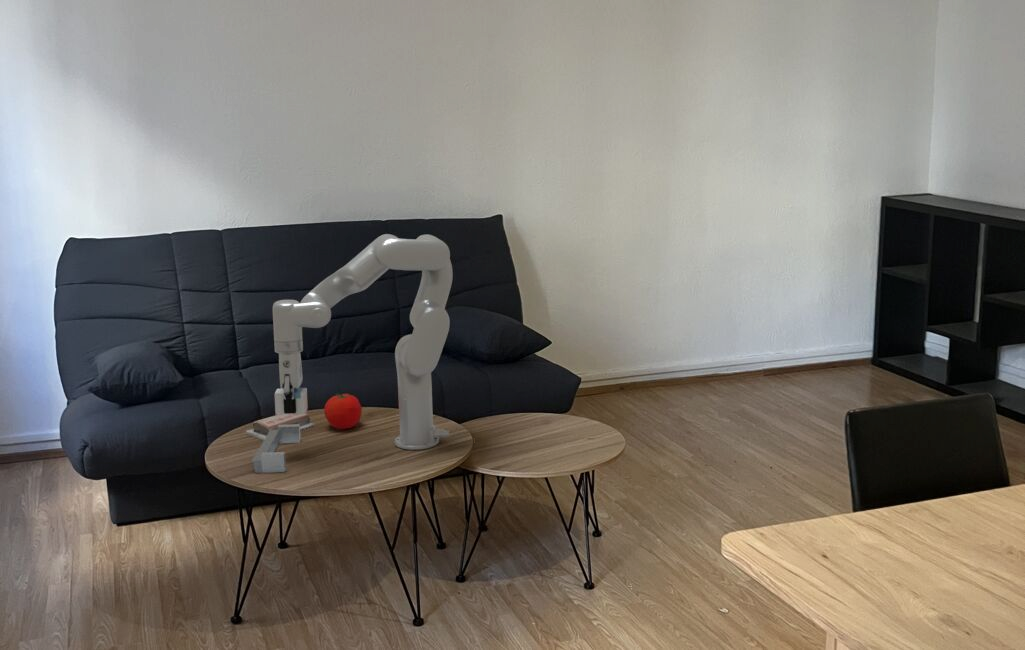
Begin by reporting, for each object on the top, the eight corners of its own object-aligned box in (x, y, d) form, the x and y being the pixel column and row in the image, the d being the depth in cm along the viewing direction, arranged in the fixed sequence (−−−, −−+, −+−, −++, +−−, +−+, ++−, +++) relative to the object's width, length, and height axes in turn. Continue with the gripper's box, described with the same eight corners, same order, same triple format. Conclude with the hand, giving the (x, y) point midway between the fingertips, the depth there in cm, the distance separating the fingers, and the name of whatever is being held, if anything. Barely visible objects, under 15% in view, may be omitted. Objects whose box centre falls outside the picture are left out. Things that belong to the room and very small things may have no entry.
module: (307, 408, 300) (306, 387, 299) (305, 414, 295) (304, 392, 294) (278, 409, 300) (277, 388, 299) (275, 414, 295) (274, 393, 294)
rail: (300, 440, 314) (299, 424, 313) (284, 472, 289) (283, 454, 288) (271, 441, 314) (269, 425, 313) (252, 473, 289) (251, 455, 288)
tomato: (367, 420, 332) (365, 388, 330) (356, 434, 320) (355, 400, 317) (331, 420, 333) (329, 388, 331) (319, 433, 321) (317, 400, 319)
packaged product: (294, 406, 333) (314, 412, 327) (294, 421, 334) (315, 427, 328) (244, 420, 320) (264, 427, 314) (245, 436, 321) (265, 442, 315)
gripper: (298, 352, 285) (301, 419, 289) (306, 338, 302) (309, 401, 306) (269, 353, 285) (272, 419, 289) (279, 338, 302) (282, 401, 306)
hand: (291, 409), depth 297 cm, fingers closed on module, 5 cm apart
